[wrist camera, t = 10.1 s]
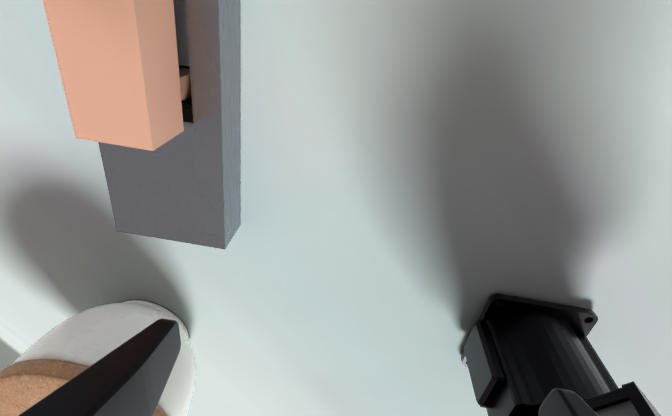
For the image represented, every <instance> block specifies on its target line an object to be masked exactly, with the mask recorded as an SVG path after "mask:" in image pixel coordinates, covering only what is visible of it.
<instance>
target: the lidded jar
mask: <svg viewBox="0 0 672 416" xmlns="http://www.w3.org/2000/svg"><path fill="white" fill-rule="evenodd" d="M162 318H164V319H170V320H175V321H177V322H178V324H179V330H180V338H181V348H180V352H179V355H178V357H177V360H176V362H175V364H174V367H173V369H172V371H171V374H170V376H169V379H168V381H167V383H166V386H165V388H164V391H163V393H162V395H161V398H160V400H159V403H158V405H157V407H156V410H155V412H154V414H153V416H186V415H187V412H188V409H189V406H190V403H191V400H192V397H193V393H194V388H195V383H196V369H197V366H196V359H195V353H194V350H193V347H192V345H191V342H190V340H189V333H188V330H187V328H186V327H185V325H184V323H183V322H182V321H181V320H180V319H179V318H178V317H177V316H176V315H175V314H173V313H172V312H171V311H169V310H168V309H166V308H164V307H162V306H160V305H157V304H155V303H152V302H148V301H142V300H129V301H124V302H122V303H113V304H105V305H101V306H97V307H93V308H90V309H87V310H84V311H82V312H80V313H78V314H76V315H74V316H72V317H70V318H68V319H66V320H65V321H63V322H62V323H60V324H59V325H57V326H55V327H54V328H53V329H51V330H50V331H49V332H48V333H46V334H45V335H44V336H42V337H41V338H40V339H39V340H37V341H36V342H35V343H34V344H33V345H32V346H31V347H29V348H28V349H27V350H26V351H25V352H24V353H23V354H22V355H21V356H20V357H19V358H18V359H17V360H16V361H15V362H14V363H13V364H12V365H10V366H8V367H7V368H5V369H4V370H3V371H2V372H1V373H0V416H18V415H20V414H21V413H23V412H24V411H25V410H27V409H28V408H30V407H31V406H33V405H34V404H36V403H37V402H39V401H40V400H41V399H43V398H44V397H46V396H47V395H49V394H50V393H52V392H53V391H55V390H56V389H58V388H59V387H60V386H62V385H63V384H65V383H66V382H68V381H69V380H71V379H72V378H74V377H75V376H76V375H78V374H79V373H81V372H82V371H84V370H85V369H87V368H88V367H90V366H91V365H92V364H94V363H95V362H97V361H98V360H100V359H101V358H103V357H104V356H106V355H107V354H108V353H110V352H111V351H113V350H114V349H116V348H117V347H119V346H120V345H122V344H123V343H125V342H126V341H127V340H129V339H130V338H132V337H133V336H135V335H136V334H138V333H139V332H141V331H142V330H143V329H145V328H146V327H148V326H149V325H151V324H152V323H154V322H155V321H157V320H158V319H162Z"/></svg>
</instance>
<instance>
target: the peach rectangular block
mask: <svg viewBox="0 0 672 416" xmlns="http://www.w3.org/2000/svg"><path fill="white" fill-rule="evenodd" d="M43 3H44V7H45V12H46V16H47V20H48V24H49V28H50V32H51V37H52V41H53V45H54V49H55V53H56V57H57V62H58V66H59V70H60V74H61V78H62V82H63V87H64V91H65V95H66V99H67V103H68V107H69V112H70V116H71V120H72V124H73V128H74V132H75V137H76V138H78V139H84V140H90V141H96V142H102V143H108V144H114V145H120V146H126V147H132V148H138V149H144V150H150V151H154V150H155V149H157V148H158V147H160V146H161V145H163V144H164V143H166V142H168V141H169V140H171V139H172V138H174V137H175V136H177V135H178V134H180V133H181V132H183V131H184V127H183V115H182V102H181V101H182V100H184V99H186V98H188V97H190V96H191V81H190V69H187V68H181V67H179V65H178V53H177V40H176V28H175V15H174V3H173V0H43Z"/></svg>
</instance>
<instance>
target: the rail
mask: <svg viewBox="0 0 672 416" xmlns="http://www.w3.org/2000/svg"><path fill="white" fill-rule="evenodd" d="M173 3H174V15H175V28H176V40H177V53H178V65H184V66H190V81H191V96H192V105H188V104H182V115H183V127H184V131H183V132H181V133H180V134H178V135H177V136H175V137H174V138H172V139H171V140H169V141H168V142H166V143H164V144H163V145H161V146H160V147H158V148H157V149H155V150H154V151H150V150H144V149H138V148H132V147H126V146H120V145H114V144H108V143H102V142H99V147H100V152H101V157H102V161H103V166H104V171H105V176H106V180H107V185H108V190H109V195H110V200H111V204H112V209H113V214H114V219H115V224H116V228H117V231H121V232H127V233H132V234H138V235H144V236H150V237H156V238H162V239H168V240H174V241H179V242H185V243H191V244H197V245H203V246H209V247H215V248H221V249H226V247H227V245H228V244H229V242H230V241H231V239H232V237H233V236H234V234H235V233H236V231H237V229H238V228H239V226H240V0H173Z"/></svg>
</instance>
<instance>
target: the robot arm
mask: <svg viewBox="0 0 672 416" xmlns="http://www.w3.org/2000/svg"><path fill="white" fill-rule="evenodd" d="M496 302H499V303H496ZM597 320H598V317H597V316H596V314H595V313H594V312H593V311H592V310H589V309H583V308H578V307H572V306H566V305H560V304H554V303H548V302H542V301H536V300H531V299H525V298H519V297H513V296H507V295H501V294H495V295H492V296H491V297H490V298H489V299H488V301H487V303H486V305H485V308H484V310H483V312H482V314H481V316H480V318H479V320H478V321H477V322H476V323H475V324H474V326H473V328H472V330H471V332H470V334H469V337H468V339H467V341H466V343H465V345H464V352H463V354H462V356H461V360H462V364H463V365H464V366H465V367H468V368H469V372H470V376H471V380H472V384H473V388H474V392H475V396H476V400H477V403H478V404H479V405H480V407H484V408H486V409H487V413H488V416H661V415H660V414H659V413H658V411H657V410H656V409H655V408H654V406H653V405H652V404H651V403H650V401H649V400H648V399H647V398H646V396H645V395H644V394H643V393H642V391H641V390H640V389H639V388H638V386H637V385H636V384H635V383H634V381H633V382H630V383H627V384H624V385H622V388H618V387H617V385H616V383H615V382H614V380H613V379H612V377H611V375H610V374H609V372H608V371H607V369H606V368H605V366H604V364H603V363H602V361H601V360H600V358H599V356H598V355H597V353H596V352H595V350H594V349H593V347H592V345H591V344H590V342H589V341H588V339H587V337H586V336H587V335H588V334H589V332H590V331H591V329H592V328H593V327H594V325H595V324H596V322H597ZM180 348H181V338H180V330H179V324H178V322H177V321H175V320H170V319H164V318H162V319H158V320H157V321H155V322H154V323H152V324H151V325H149V326H148V327H146V328H145V329H143V330H142V331H141V332H139V333H138V334H136V335H135V336H133V337H132V338H130V339H129V340H127V341H126V342H125V343H123V344H122V345H120V346H119V347H117V348H116V349H114V350H113V351H111V352H110V353H108V354H107V355H106V356H104V357H103V358H101V359H100V360H98V361H97V362H95V363H94V364H92V365H91V366H90V367H88V368H87V369H85V370H84V371H82V372H81V373H79V374H78V375H76V376H75V377H74V378H72V379H71V380H69V381H68V382H66V383H65V384H63V385H62V386H60V387H59V388H58V389H56V390H55V391H53V392H52V393H50V394H49V395H47V396H46V397H44V398H43V399H41V400H40V401H39V402H37V403H36V404H34V405H33V406H31V407H30V408H28V409H27V410H25V411H24V412H23V413H21V414H20V415H18V416H153V414H154V412H155V410H156V407H157V405H158V403H159V400H160V398H161V395H162V393H163V391H164V388H165V386H166V383H167V381H168V379H169V376H170V374H171V371H172V369H173V367H174V364H175V362H176V360H177V357H178V355H179V352H180Z"/></svg>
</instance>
